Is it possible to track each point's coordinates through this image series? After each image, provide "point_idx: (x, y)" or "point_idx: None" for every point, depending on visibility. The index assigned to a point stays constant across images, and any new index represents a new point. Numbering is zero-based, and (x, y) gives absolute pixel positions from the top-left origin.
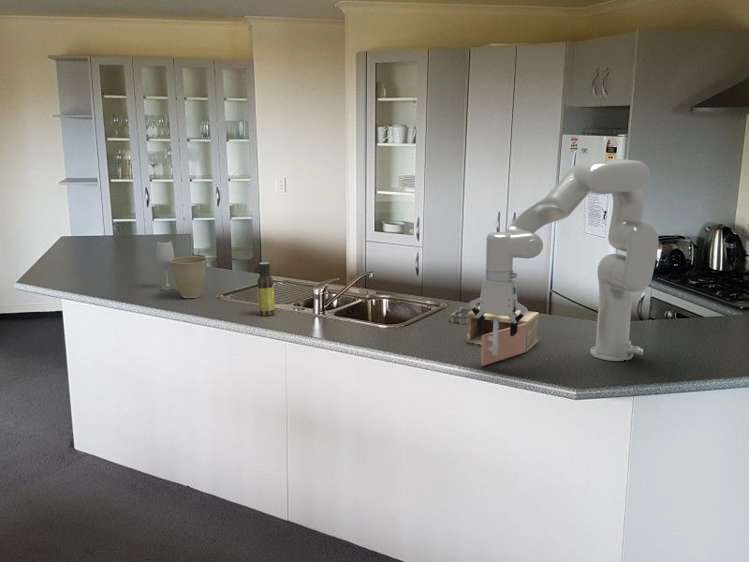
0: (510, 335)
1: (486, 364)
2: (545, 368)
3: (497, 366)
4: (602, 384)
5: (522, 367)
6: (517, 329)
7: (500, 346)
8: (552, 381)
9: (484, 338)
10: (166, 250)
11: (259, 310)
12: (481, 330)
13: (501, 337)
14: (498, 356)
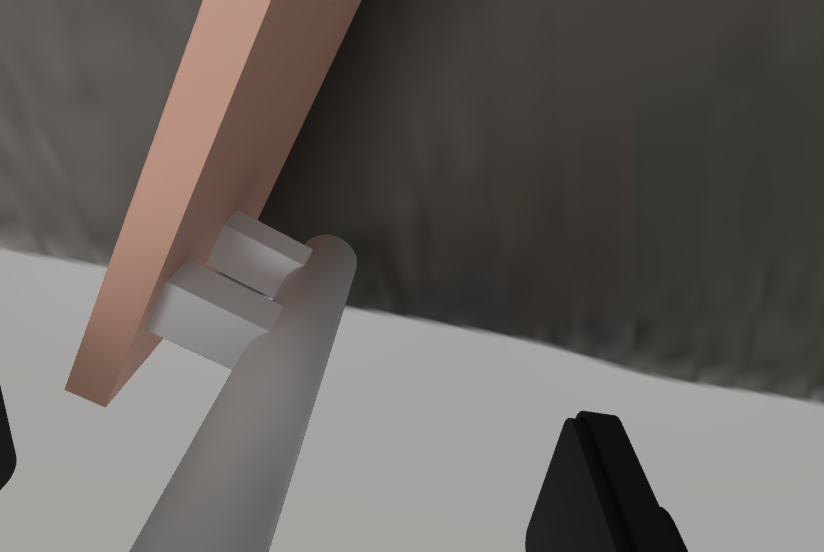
0: (532, 546)
1: (267, 196)
2: (810, 74)
3: (363, 174)
4: None
5: (585, 123)
6: (681, 541)
7: (320, 30)
8: (818, 355)
9: (131, 368)
10: None
11: None
12: (5, 457)
13: (297, 15)
14: (329, 54)
